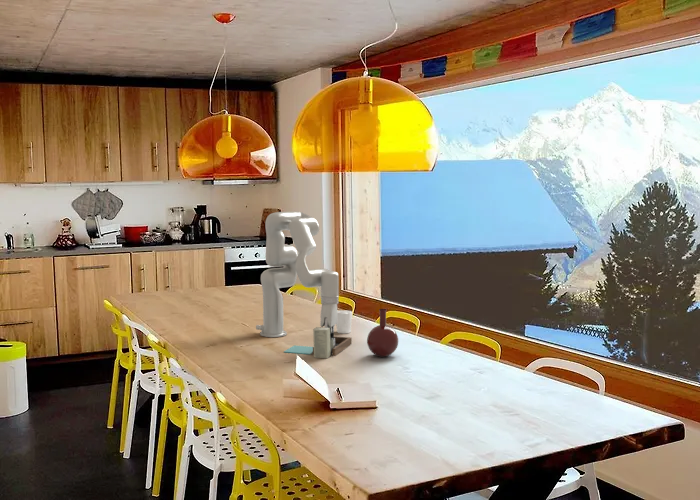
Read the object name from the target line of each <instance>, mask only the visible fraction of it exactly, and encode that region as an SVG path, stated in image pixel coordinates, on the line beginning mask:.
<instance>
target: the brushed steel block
mask: <svg viewBox="0 0 700 500" xmlns="http://www.w3.org/2000/svg"><path fill="white" fill-rule="evenodd" d="M335 347H336V346H335V338H330V352H331V355H332V349H333V348H335Z"/></svg>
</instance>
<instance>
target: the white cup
mask: <svg viewBox="0 0 700 500" xmlns="http://www.w3.org/2000/svg"><path fill="white" fill-rule="evenodd" d="M337 314H338V319H337V324H335V326H336V332H337V333H338V334H342V335H343V334H351V333H352V323H353V322H352V321H353V319H352V317H353V311H352V310H347V309H346V310H337Z"/></svg>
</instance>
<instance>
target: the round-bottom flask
mask: <svg viewBox="0 0 700 500" xmlns="http://www.w3.org/2000/svg"><path fill="white" fill-rule="evenodd" d="M387 310H388V309H387V308H380V309H379V310H378V311H379V325H376V326H374V327H373V328H372V329H371V330H370V331H369V333H368V335H367V339H366V344H367V347H368V349H369V351H370V352H371V353H372V354H374V355H375V356H377V357H382V358H384V357H389V356H391V355H392V354H393V353H395V352H396V351H397V348H398V346H399V336H398V334H397V332H396V330H395V329H394V328H392V327H391V326H389V325H387Z"/></svg>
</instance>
